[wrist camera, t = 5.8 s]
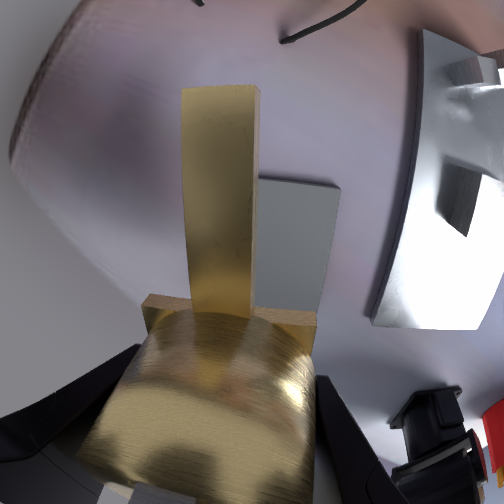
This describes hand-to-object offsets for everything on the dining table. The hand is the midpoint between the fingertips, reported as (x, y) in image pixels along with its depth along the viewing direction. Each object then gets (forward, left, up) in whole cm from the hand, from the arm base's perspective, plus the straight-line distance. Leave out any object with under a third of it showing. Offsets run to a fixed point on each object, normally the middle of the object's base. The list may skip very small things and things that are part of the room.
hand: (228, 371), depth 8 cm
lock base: (+5, -13, -10) cm, 17 cm away
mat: (0, 0, -10) cm, 10 cm away
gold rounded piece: (+3, 0, 0) cm, 3 cm away
